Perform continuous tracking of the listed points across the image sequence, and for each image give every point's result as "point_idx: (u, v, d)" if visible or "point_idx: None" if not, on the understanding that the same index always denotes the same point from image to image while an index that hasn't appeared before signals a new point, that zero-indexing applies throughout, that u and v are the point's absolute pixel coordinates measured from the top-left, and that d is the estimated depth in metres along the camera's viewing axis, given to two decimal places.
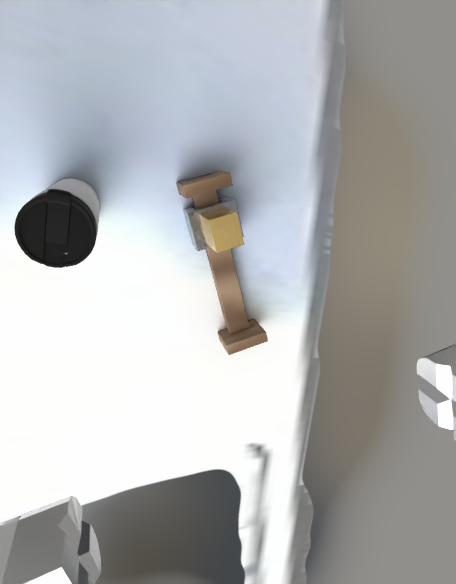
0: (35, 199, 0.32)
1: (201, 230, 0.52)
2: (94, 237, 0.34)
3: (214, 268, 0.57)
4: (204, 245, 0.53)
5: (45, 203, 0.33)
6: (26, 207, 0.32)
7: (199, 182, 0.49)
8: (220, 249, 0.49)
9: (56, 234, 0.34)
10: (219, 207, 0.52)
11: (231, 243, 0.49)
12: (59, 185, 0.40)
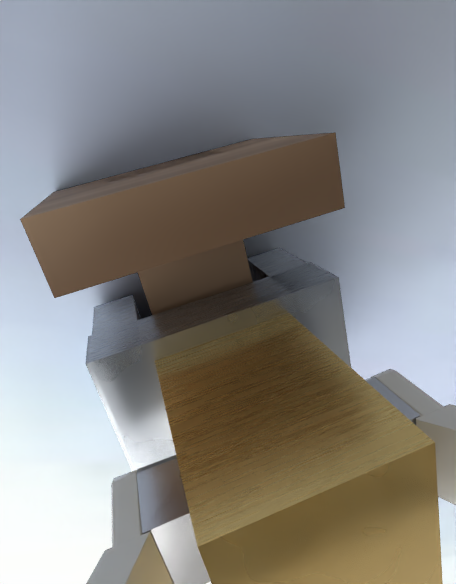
0: None
1: (167, 432, 0.10)
2: None
3: None
4: None
5: None
6: None
7: (140, 194, 0.07)
8: None
9: None
10: (259, 320, 0.10)
11: None
12: None
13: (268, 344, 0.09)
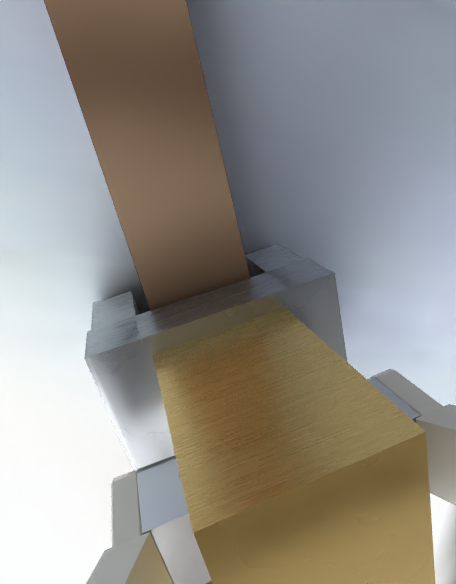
0: None
1: (165, 425, 0.11)
2: None
3: None
4: None
5: None
6: None
7: None
8: None
9: None
10: (256, 315, 0.10)
11: None
12: None
13: (264, 338, 0.09)
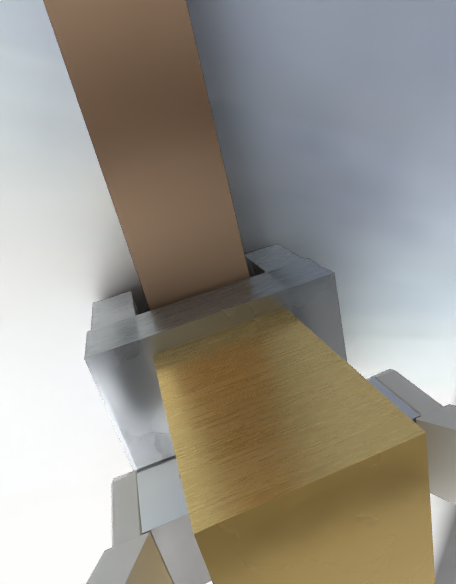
0: None
1: (165, 426, 0.11)
2: None
3: (86, 103, 0.09)
4: None
5: None
6: None
7: None
8: None
9: None
10: (256, 315, 0.10)
11: None
12: None
13: (264, 338, 0.09)
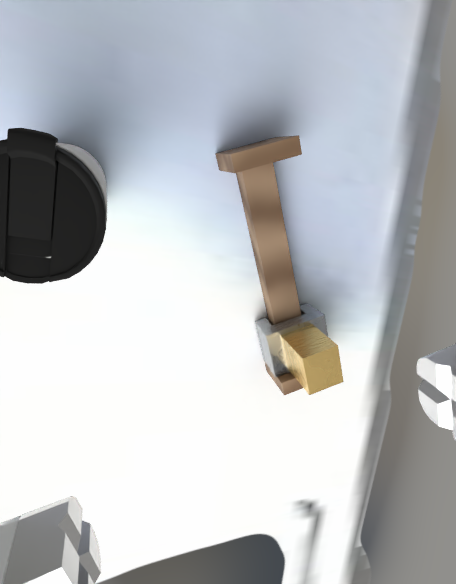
0: None
1: (281, 353, 0.41)
2: (102, 226, 0.18)
3: (266, 275, 0.40)
4: (284, 370, 0.42)
5: (6, 158, 0.16)
6: None
7: (254, 149, 0.33)
8: (314, 391, 0.38)
9: (29, 220, 0.17)
10: (305, 325, 0.41)
11: (327, 382, 0.38)
12: None
13: (308, 331, 0.40)
